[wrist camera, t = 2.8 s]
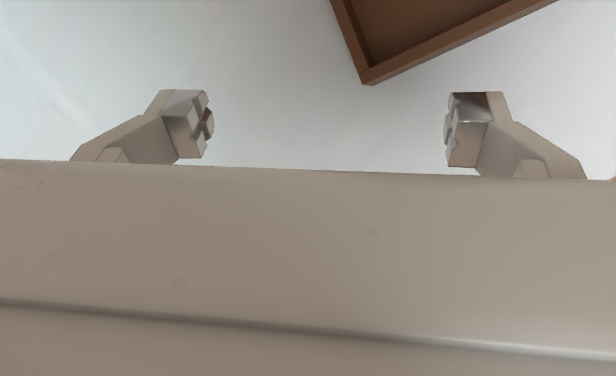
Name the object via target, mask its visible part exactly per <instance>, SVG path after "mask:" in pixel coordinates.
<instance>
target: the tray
mask: <svg viewBox="0 0 616 376" xmlns="http://www.w3.org/2000/svg"><path fill="white" fill-rule="evenodd" d="M556 1H558V0H330V2H331V5H332V7H333V10H334V12H335V15H336V18H337V20H338V23H339V25H340V28H341V31H342V33H343V36H344V38H345V41H346V43H347V46H348V49H349V51H350V54H351V56H352V59H353V62H354V64H355V67H356V69H357V72H358V73H359V77H360V80H361V82H362V84H363V85H369V86H374V85H376V84H378V83H380V82H382V81H385V80H387V79H389V78H391V77H393V76H395V75H398V74H400V73H402V72H404V71H406V70H409V69H411V68H413V67H415V66H417V65H419V64H422V63H424V62H426V61H428V60H430V59H432V58H435V57H437V56H439V55H441V54H443V53H445V52H448V51H450V50H452V49H454V48H456V47H458V46H461V45H463V44H465V43H467V42H469V41H471V40H474V39H476V38H478V37H480V36H482V35H484V34H487V33H489V32H491V31H493V30H495V29H498V28H500V27H502V26H504V25H506V24H508V23H511V22H513V21H515V20H517V19H519V18H521V17H524V16H526V15H528V14H530V13H532V12H534V11H537V10H539V9H541V8H543V7H545V6H547V5H550V4H552V3H554V2H556Z"/></svg>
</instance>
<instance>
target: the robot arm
mask: <svg viewBox="0 0 616 376" xmlns="http://www.w3.org/2000/svg"><path fill="white" fill-rule="evenodd" d="M208 102H209V100H208V97H207V94H206V92H205V91H203V90H180V89H177V90H175V89H163V90H160V91H159V92H158V94H157V95H156V97H155V98H154V100H153V101H152V103H151V104H150V105H149V107H148V108H147V110H146V111H145V113H144V114H143V115H138V116H136V117H134V118H132V119H130V120H128V121H126V122H125V123H123V124H121V125H119V126H117V127H115V128H113V129H111V130H109V131H107V132H105V133H103V134H102V135H100V136H98V137H96V138H94V139H92V140H90V141H88V142H86V143H84V144H82V145H81V146H80V147H79V148H78V150H77V151H76V152H75V153H74V155H73V156H72V157H71V158H70V160H69V161H52V160H24V159H0V376H616V181H613V180H588V179H587V177H586V175H585V173H584V171H583V169H582V166H581V164H580V162H579V160H577V159H576V158H574V157H573V156H571V155H570V154H568V153H566V152H565V151H563V150H562V149H560V148H559V147H557V146H555V145H554V144H552V143H551V142H549V141H548V140H546V139H544V138H543V137H541V136H540V135H538V134H537V133H535V132H533V131H532V130H530V129H529V128H527V127H526V126H524V125H522V124H521V123H519V122H513V120H512V117H511V114H510V111H509V109H508V106H507V103H506V100H505V98H504V95H503V93H502V92H501V91H499V92H455V93H450V96H449V101H448V108H449V113H448V114H447V115H446V116H445V122H444V131H443V136H444V144H445V145H446V146H447V149H446V158H447V164H448V167H463V168H475V170H476V171H477V172H478V173H479V174H480V175H481V176H474V175H446V174H417V173H389V172H361V171H332V170H304V169H276V168H248V167H220V166H192V165H172V164H174V163H175V162H176V161H177V160H178V158H202V156H203V154H204V152H205V150H206V148H207V144H206V141H207V140H209V139H210V138H211V137H212V134H213V131H214V118H213V114H212V112H211V111H210V110H209V109H208V108H207V107H206V106H207V104H208Z"/></svg>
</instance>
